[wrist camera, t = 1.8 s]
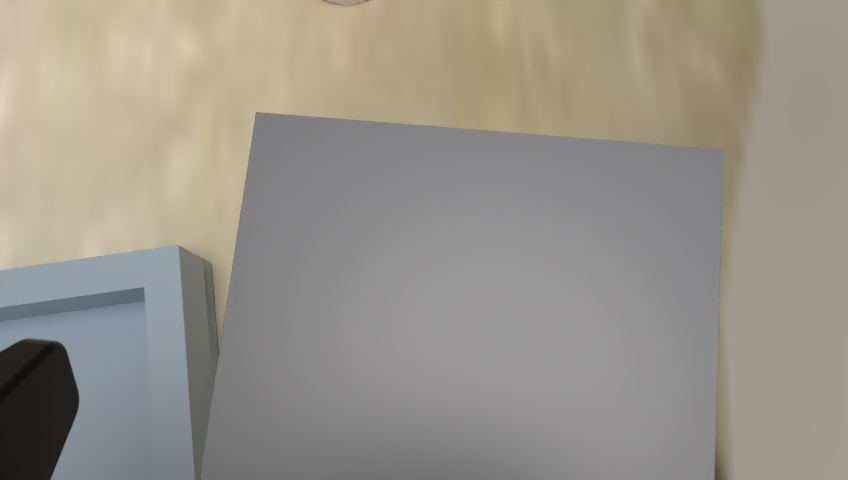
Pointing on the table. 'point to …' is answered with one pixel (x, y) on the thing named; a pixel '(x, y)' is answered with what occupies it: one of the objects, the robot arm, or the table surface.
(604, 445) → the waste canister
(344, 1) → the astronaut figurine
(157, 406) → the drip tray
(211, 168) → the table surface
